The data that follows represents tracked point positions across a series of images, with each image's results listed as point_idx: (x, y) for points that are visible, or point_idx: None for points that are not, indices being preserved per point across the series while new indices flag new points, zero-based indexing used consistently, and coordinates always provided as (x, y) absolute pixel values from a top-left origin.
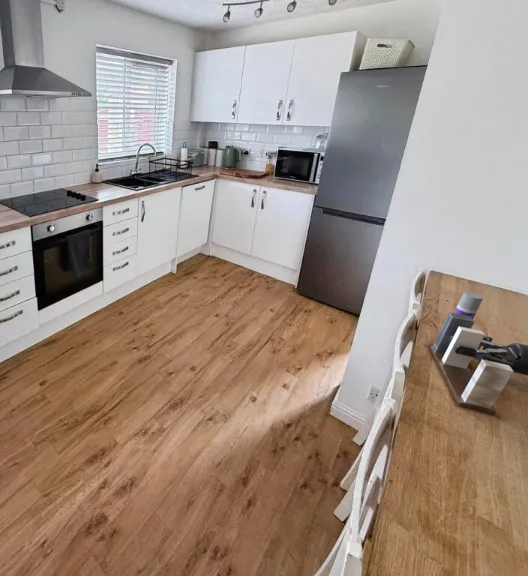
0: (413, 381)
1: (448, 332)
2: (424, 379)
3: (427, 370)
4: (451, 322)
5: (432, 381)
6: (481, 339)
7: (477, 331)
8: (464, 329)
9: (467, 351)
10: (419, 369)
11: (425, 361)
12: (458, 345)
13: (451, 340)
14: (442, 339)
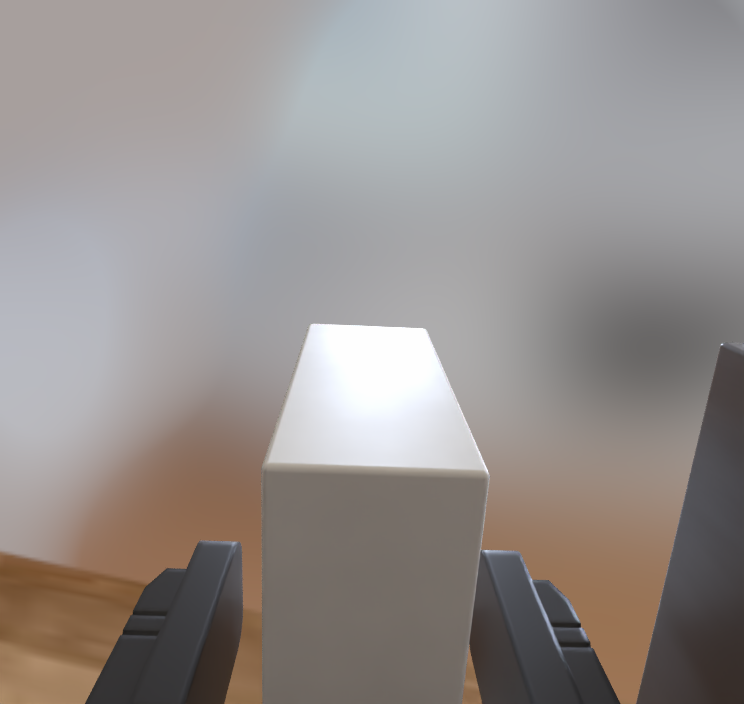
0: (26, 566)
1: (682, 596)
2: (48, 626)
3: None
4: (711, 431)
5: (17, 671)
6: (268, 600)
7: (386, 416)
8: (344, 336)
9: (123, 633)
10: None
11: None
12: (236, 542)
13: (476, 604)
14: (642, 680)
